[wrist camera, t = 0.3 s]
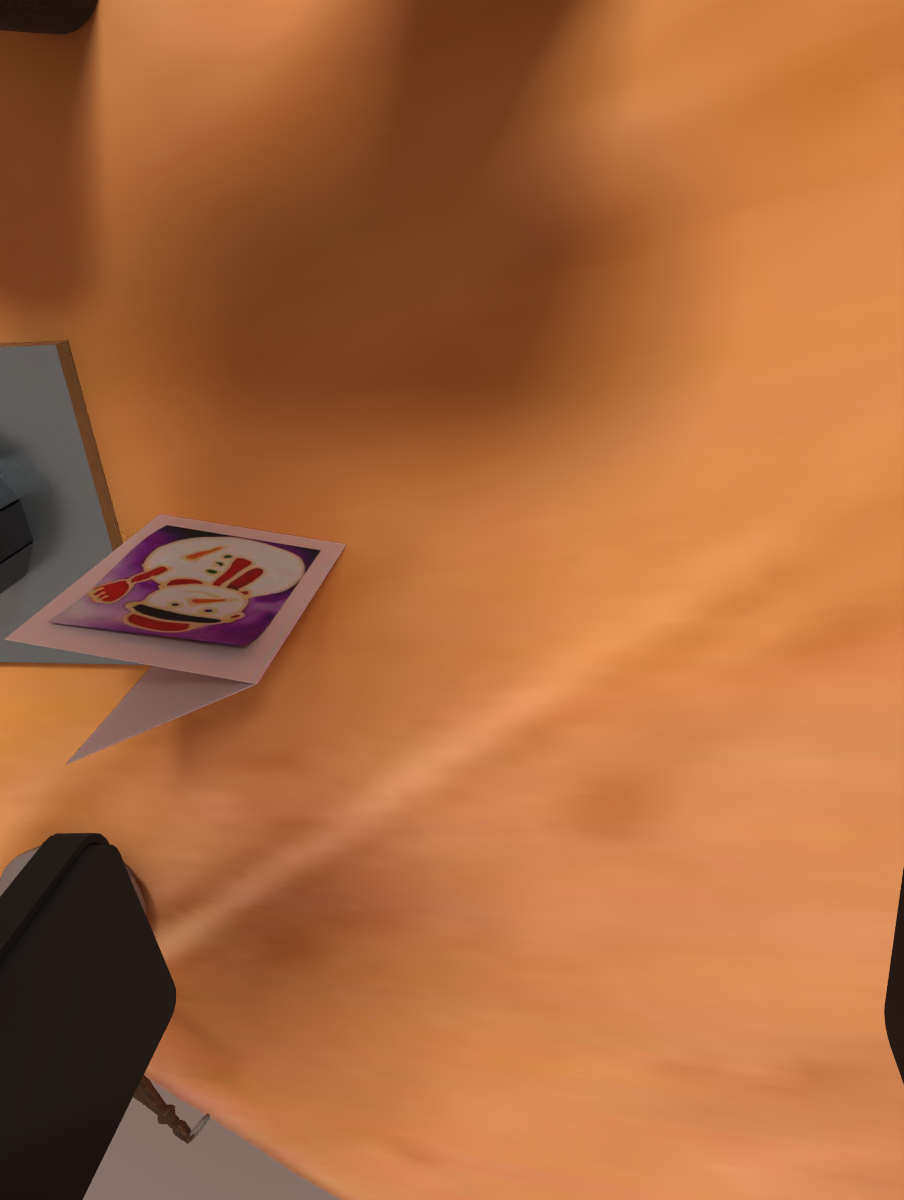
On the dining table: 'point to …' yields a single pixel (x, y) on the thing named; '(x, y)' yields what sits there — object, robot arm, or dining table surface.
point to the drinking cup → (45, 15)
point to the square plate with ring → (47, 493)
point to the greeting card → (184, 615)
